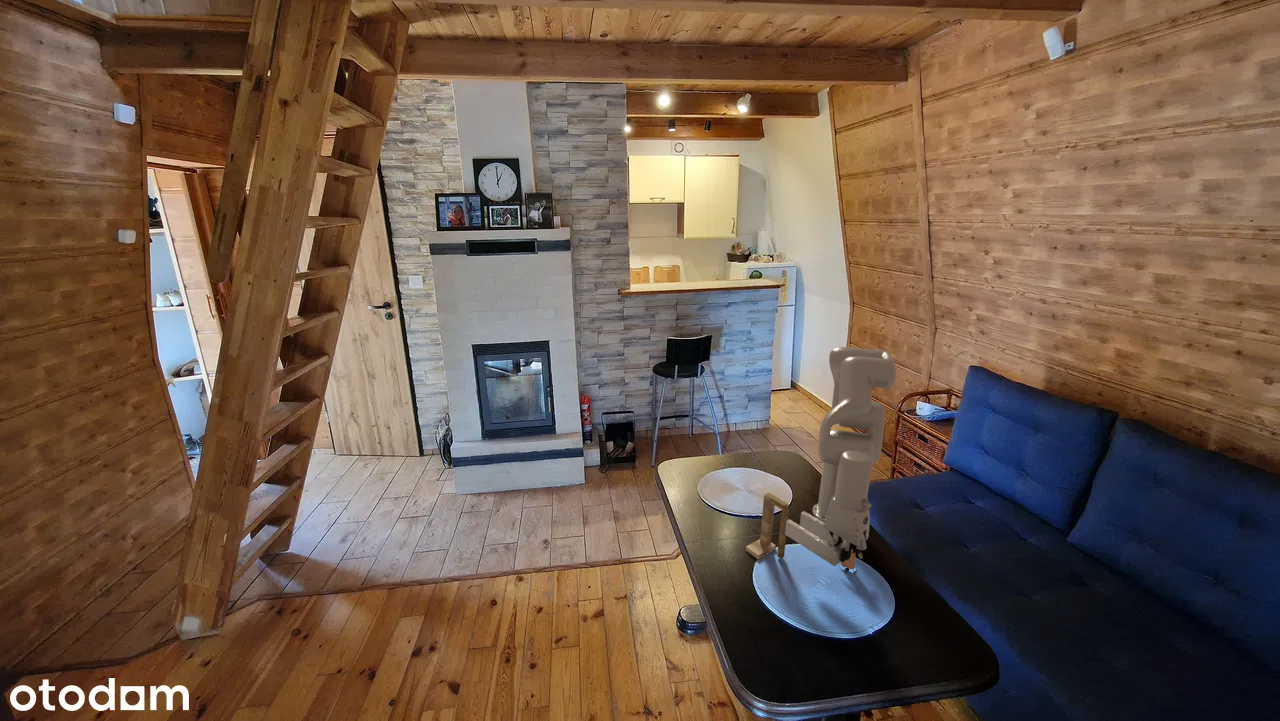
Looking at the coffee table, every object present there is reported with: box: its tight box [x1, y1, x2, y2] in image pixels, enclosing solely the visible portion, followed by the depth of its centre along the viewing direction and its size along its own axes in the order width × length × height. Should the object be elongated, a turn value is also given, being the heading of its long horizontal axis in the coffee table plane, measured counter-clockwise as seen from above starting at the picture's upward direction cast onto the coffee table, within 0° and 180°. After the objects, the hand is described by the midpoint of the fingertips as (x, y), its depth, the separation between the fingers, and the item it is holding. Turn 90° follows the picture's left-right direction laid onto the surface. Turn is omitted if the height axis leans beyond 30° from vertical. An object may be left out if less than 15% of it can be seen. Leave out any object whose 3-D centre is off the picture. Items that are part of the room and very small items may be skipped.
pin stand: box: [745, 492, 790, 560], centre depth 148 cm, size 8×10×19 cm
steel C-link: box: [785, 510, 853, 567], centre depth 137 cm, size 16×8×4 cm, turn 36°
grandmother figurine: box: [840, 548, 864, 569], centre depth 143 cm, size 8×4×13 cm, turn 71°
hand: (841, 557), depth 132 cm, fingers closed on steel C-link, 1 cm apart
